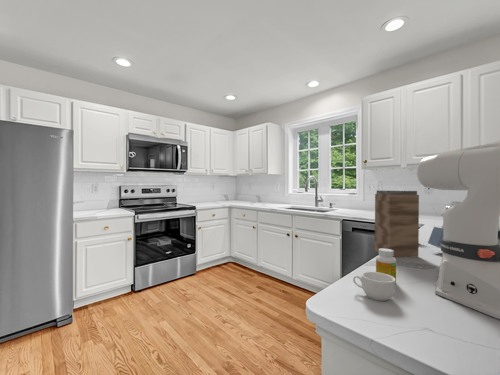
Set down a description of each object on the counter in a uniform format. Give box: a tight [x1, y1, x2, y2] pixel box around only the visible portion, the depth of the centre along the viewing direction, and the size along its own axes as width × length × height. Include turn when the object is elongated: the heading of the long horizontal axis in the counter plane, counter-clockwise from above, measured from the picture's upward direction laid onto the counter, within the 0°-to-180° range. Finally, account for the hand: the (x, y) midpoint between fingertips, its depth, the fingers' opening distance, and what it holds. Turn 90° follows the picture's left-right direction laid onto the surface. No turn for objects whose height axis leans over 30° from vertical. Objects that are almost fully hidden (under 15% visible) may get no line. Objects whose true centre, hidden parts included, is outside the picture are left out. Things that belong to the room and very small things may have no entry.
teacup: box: [352, 271, 396, 302], centre depth 65 cm, size 10×8×5 cm
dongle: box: [427, 200, 462, 249], centre depth 111 cm, size 5×22×6 cm
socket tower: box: [374, 190, 420, 258], centre depth 108 cm, size 10×14×28 cm
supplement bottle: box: [375, 248, 397, 285], centre depth 75 cm, size 5×5×10 cm
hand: (452, 208), depth 111 cm, fingers closed on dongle, 4 cm apart
